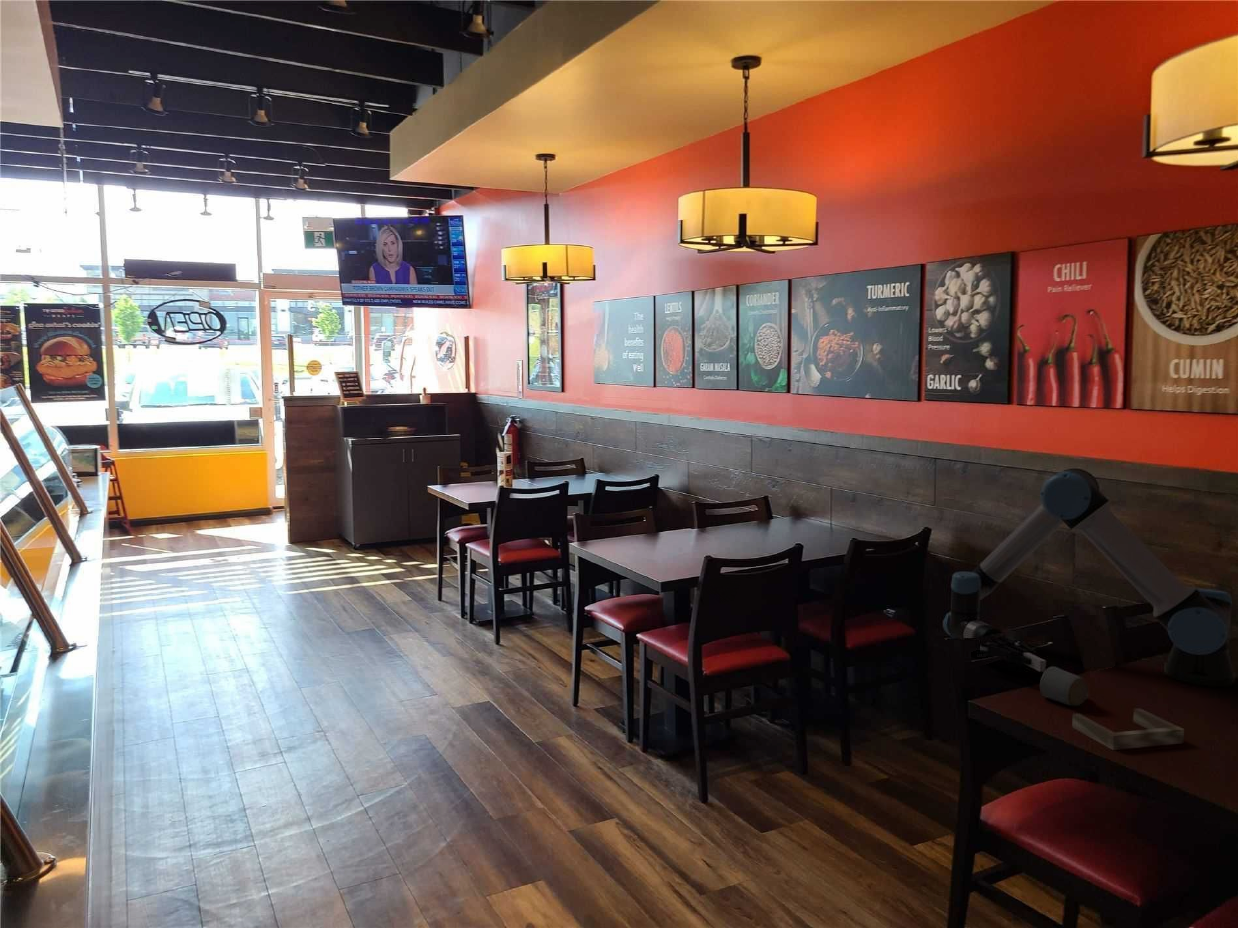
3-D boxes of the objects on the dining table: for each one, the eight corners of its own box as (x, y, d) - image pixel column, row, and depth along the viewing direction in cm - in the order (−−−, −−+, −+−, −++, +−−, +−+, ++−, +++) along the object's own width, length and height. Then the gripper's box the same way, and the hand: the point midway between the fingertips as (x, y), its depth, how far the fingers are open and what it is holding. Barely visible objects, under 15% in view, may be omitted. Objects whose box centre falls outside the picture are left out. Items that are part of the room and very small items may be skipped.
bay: (1138, 721, 195) (1139, 708, 195) (1183, 742, 184) (1184, 729, 183) (1072, 727, 192) (1072, 714, 192) (1112, 749, 180) (1113, 735, 180)
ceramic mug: (1070, 710, 202) (1072, 678, 201) (1037, 699, 209) (1039, 668, 208) (1097, 702, 207) (1099, 671, 206) (1065, 692, 214) (1067, 661, 213)
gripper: (1005, 650, 238) (1065, 679, 215) (962, 653, 236) (1018, 682, 212) (1007, 623, 237) (1067, 649, 214) (963, 625, 235) (1019, 652, 212)
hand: (1042, 666), depth 213 cm, fingers closed
